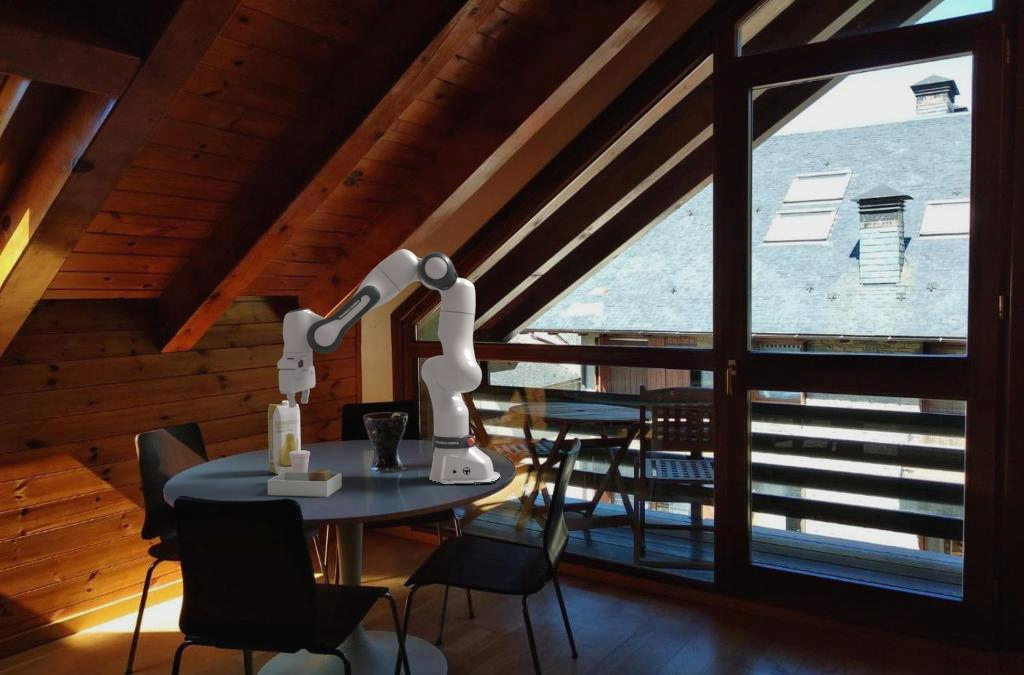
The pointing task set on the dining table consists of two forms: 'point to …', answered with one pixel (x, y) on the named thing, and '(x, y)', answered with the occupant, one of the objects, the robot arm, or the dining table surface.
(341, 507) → the dining table surface
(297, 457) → the smoothie
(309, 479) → the walnut block
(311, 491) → the crate
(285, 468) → the juice carton
